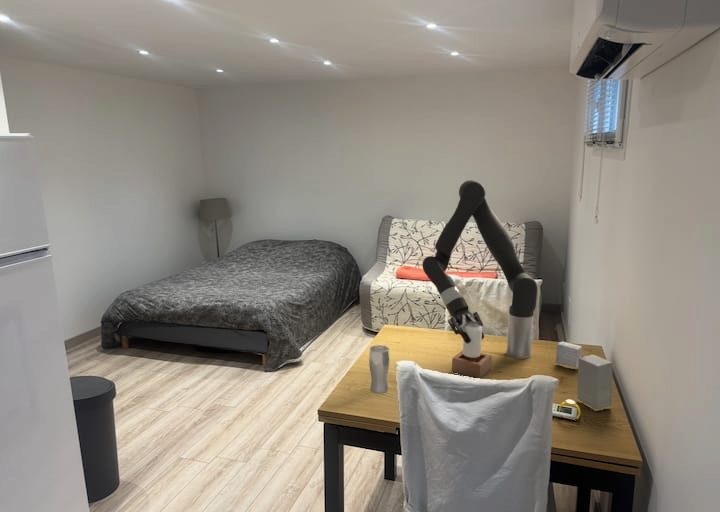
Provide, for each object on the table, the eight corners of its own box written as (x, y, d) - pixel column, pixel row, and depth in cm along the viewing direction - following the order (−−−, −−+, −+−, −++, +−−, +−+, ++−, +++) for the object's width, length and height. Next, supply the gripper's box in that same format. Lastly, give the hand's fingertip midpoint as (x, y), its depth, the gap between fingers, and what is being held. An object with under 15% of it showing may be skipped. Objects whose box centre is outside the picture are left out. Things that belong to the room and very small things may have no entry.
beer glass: (382, 396, 168) (383, 354, 165) (365, 391, 171) (365, 349, 168) (392, 388, 173) (393, 347, 170) (375, 383, 177) (375, 343, 174)
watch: (579, 420, 153) (582, 402, 152) (578, 424, 151) (581, 406, 150) (558, 414, 156) (561, 396, 155) (557, 418, 154) (560, 400, 152)
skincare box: (611, 409, 159) (616, 362, 156) (593, 413, 157) (598, 366, 153) (590, 397, 167) (595, 352, 164) (573, 401, 164) (578, 355, 161)
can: (480, 359, 182) (482, 327, 179) (462, 357, 183) (464, 326, 180) (480, 352, 188) (482, 321, 185) (462, 350, 189) (464, 320, 186)
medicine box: (580, 367, 190) (582, 346, 188) (576, 371, 187) (578, 349, 185) (559, 361, 195) (561, 340, 194) (555, 365, 192) (556, 344, 191)
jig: (463, 363, 194) (464, 348, 193) (490, 370, 188) (491, 355, 186) (451, 373, 185) (452, 358, 184) (479, 380, 179) (480, 365, 178)
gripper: (445, 299, 183) (467, 339, 176) (473, 293, 191) (495, 332, 184) (435, 309, 188) (456, 349, 181) (462, 303, 196) (483, 341, 189)
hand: (475, 340), depth 183 cm, fingers closed on can, 6 cm apart
